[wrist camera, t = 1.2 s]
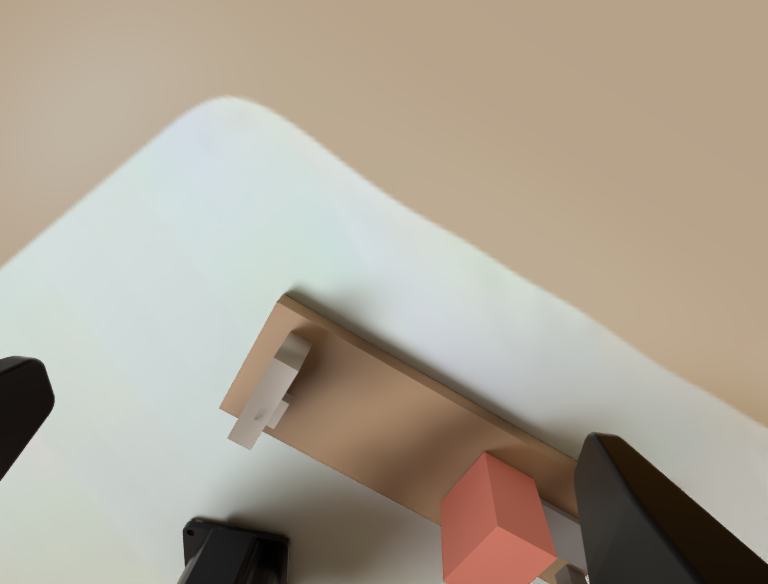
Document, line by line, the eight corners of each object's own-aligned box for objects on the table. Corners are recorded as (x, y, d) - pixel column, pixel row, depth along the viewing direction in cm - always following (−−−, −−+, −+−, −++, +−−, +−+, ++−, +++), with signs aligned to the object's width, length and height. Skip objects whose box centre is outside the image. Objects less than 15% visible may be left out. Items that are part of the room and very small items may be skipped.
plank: (646, 501, 24) (681, 561, 21) (561, 575, 26) (580, 639, 23) (283, 294, 21) (257, 324, 18) (226, 397, 24) (195, 440, 21)
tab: (643, 540, 23) (689, 629, 19) (591, 582, 25) (624, 674, 21) (484, 451, 22) (497, 526, 18) (440, 501, 24) (443, 581, 20)
